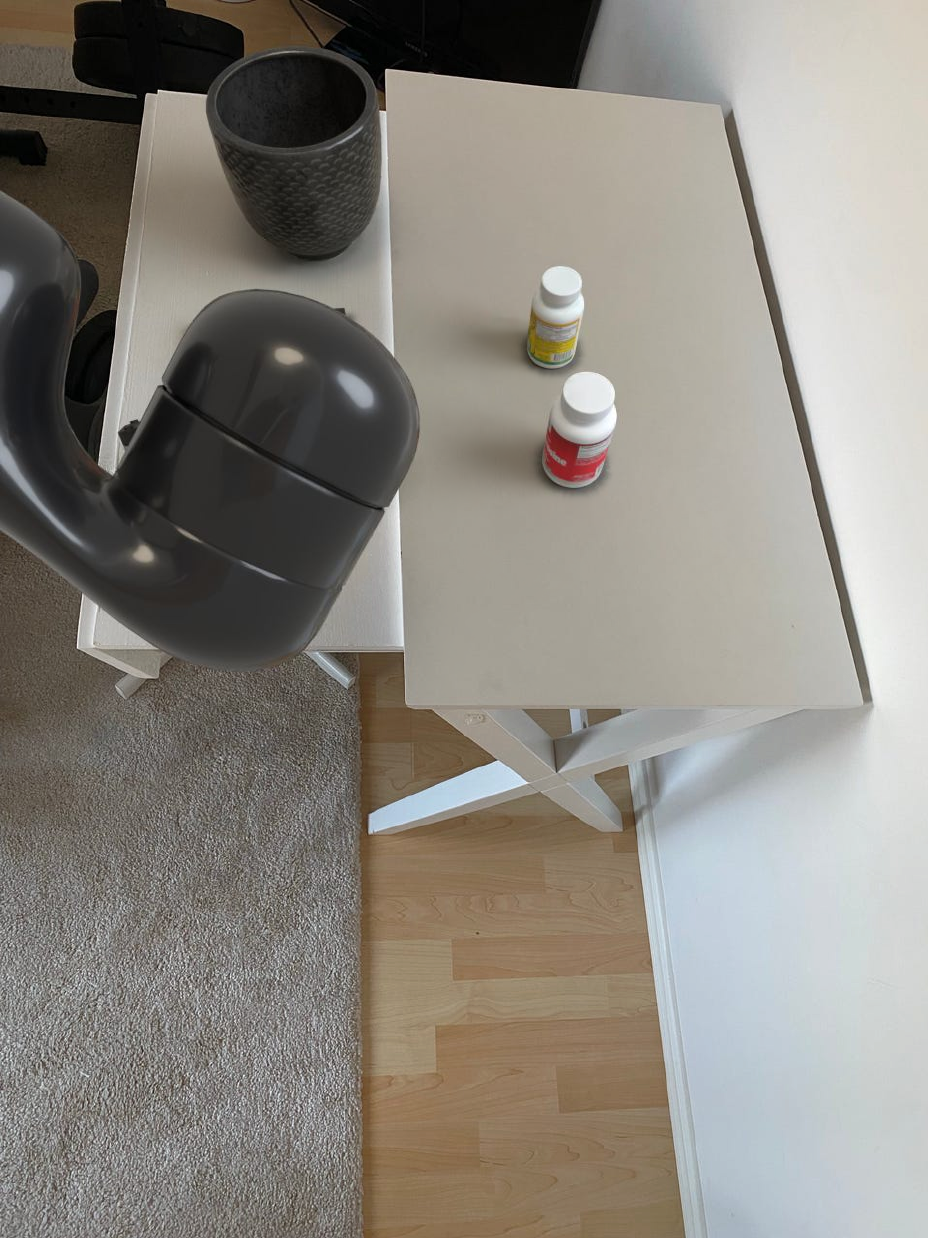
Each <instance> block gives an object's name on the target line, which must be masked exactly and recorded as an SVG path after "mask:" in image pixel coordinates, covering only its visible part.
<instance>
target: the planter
mask: <svg viewBox="0 0 928 1238" xmlns="http://www.w3.org/2000/svg"><path fill="white" fill-rule="evenodd" d="M380 113H381V111H380V103H379V96H378V90H377V88H376V85H375V82H374V80H373V79H372V77H371V75H370V74H369V73H368V72H367V71H366V70H365V68H363V67H362V66H361V65H360V64H359V63H357V62H356V61H354V60H353V59H351V58H350V57H347V56H345V55H343V54H341V53H338V52H336V51H333V50H330V49H326V48H320V47H314V46H308V45H307V46H306V45H305V46H304V45H291V46H290V45H289V46H279V47H273V48H268V49H264V50H260V51H256V52H253V53H251V54H249V55H246V56H244V57H242V58H240V59H238V60H236V61H234V62H233V63H232V64H230V65H229V66H227V67H226V68H225V69H223V71H221V73H220V74H218V76H216V78H215V79H214V80H213V82H212V83H211V85H210V86H209V89H208V91H207V95H206V99H205V114H206V115H205V116H206V119H207V123H208V127H209V131H210V134H211V137H212V140H213V143H214V147H215V151H216V155H217V158H218V160H219V163H220V166H221V168H222V172H223V175H224V177H225V179H226V182H227V184H228V186H229V189H230V191H231V193H232V194H231V195H232V196H233V199H234V200H235V203H236V204H237V206H238V208H239V210H240V212H241V214H242V215H243V217H244V219H245V220H246V221H247V223H248V224H249V225H250V227H251V228H252V229H253V230H254V231H255V233H257V235H258V236H259V237H261V238H262V239H263V240H264V241H266V242H267V243H269V244H270V245H272V246H274V247H275V248H277V249H278V250H279V249H280V250H282V251H284V252H286V253H288V254H289V255H290V256H292V257H295V258H296V259H299V260H303V261H308V262H309V261H310V262H318V261H325V260H329V259H332V258H335V257H337V256H339V255H340V254H342V253H343V252H345V251H346V250H347V249H348V248H349V247H350V246H351V244H352V243H353V242H354V241H356V239H358V238H359V237H360V236H361V234H362V233H364V231H365V230H366V229H367V227H368V226H369V224H370V222H371V221H372V219H373V217H374V215H375V211H376V208H377V205H378V202H379V199H380V198H379V197H380V191H381V183H382V166H383V165H382V163H383V158H382V157H383V156H382V155H383V154H382V153H383V152H382V150H383V149H382V128H381V127H382V126H381V114H380Z"/></svg>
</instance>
